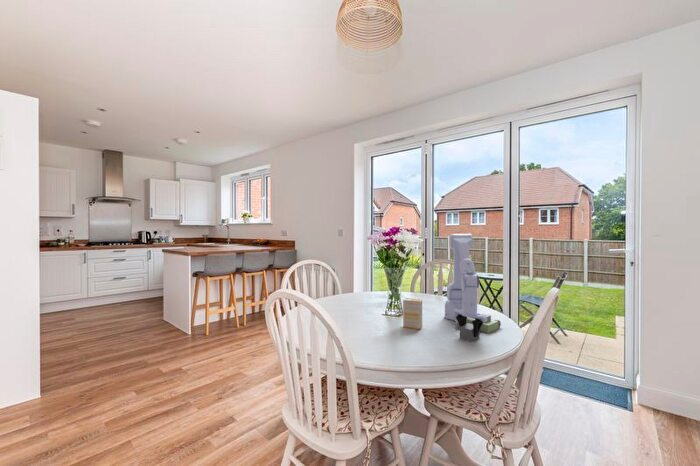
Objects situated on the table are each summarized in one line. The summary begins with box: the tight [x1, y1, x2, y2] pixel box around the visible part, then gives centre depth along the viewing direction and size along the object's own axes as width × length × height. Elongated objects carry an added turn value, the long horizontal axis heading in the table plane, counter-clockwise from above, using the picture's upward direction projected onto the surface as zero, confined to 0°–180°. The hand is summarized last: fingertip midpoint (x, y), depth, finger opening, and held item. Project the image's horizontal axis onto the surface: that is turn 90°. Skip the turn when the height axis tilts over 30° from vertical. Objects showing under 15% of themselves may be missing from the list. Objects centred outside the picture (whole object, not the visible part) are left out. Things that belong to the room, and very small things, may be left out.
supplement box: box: [402, 297, 423, 330], centre depth 144 cm, size 8×5×13 cm, turn 65°
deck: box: [454, 313, 502, 334], centre depth 142 cm, size 12×18×6 cm
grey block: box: [459, 323, 481, 343], centre depth 130 cm, size 5×7×5 cm
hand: (469, 334), depth 130 cm, fingers closed on grey block, 5 cm apart
